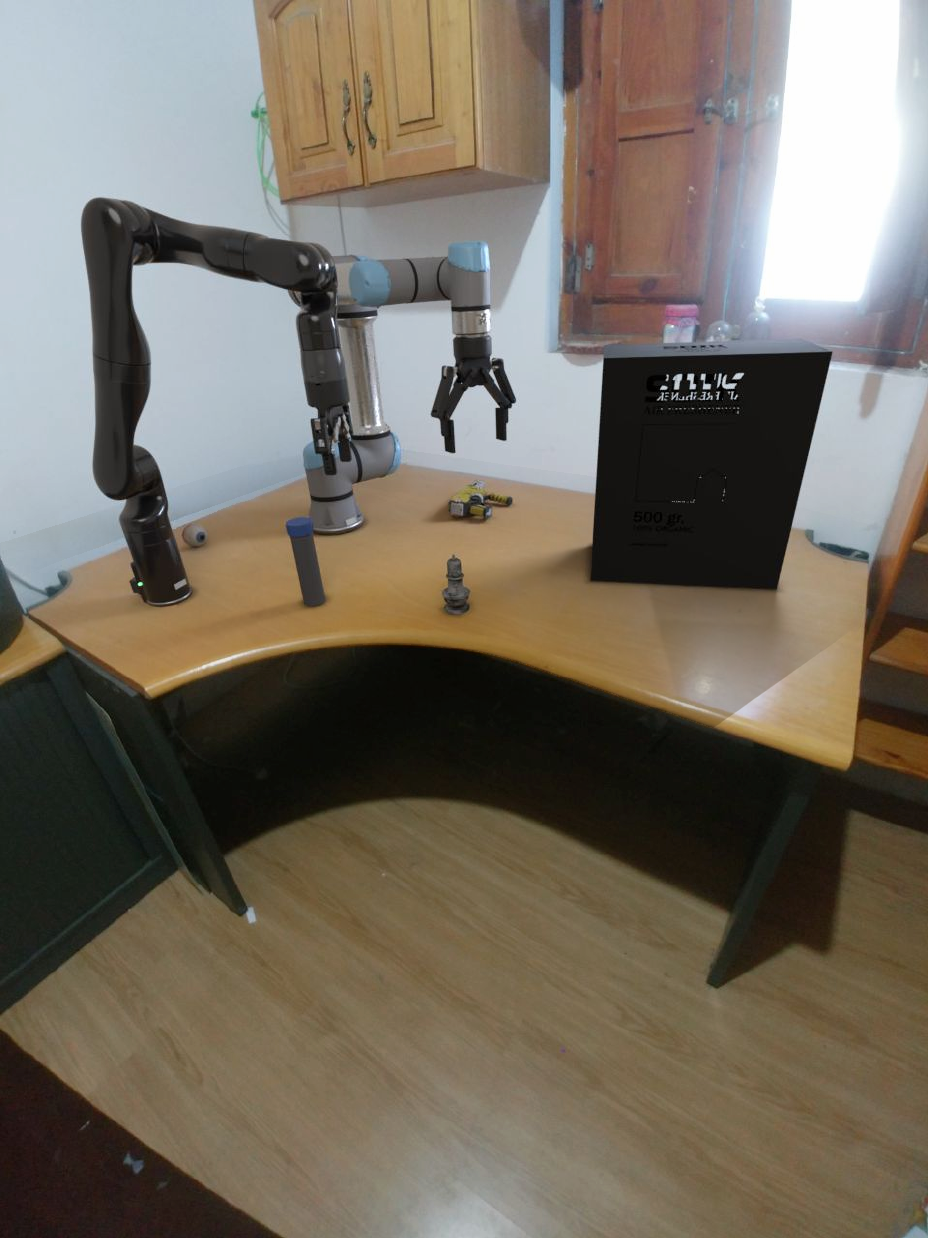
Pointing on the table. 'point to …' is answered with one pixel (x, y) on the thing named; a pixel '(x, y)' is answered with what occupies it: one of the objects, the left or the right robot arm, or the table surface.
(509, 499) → the toy gun
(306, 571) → the dark gray cylinder
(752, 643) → the table surface
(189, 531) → the eyeball
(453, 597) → the dark grey chess piece
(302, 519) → the lid
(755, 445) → the cardboard box
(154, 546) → the left robot arm
